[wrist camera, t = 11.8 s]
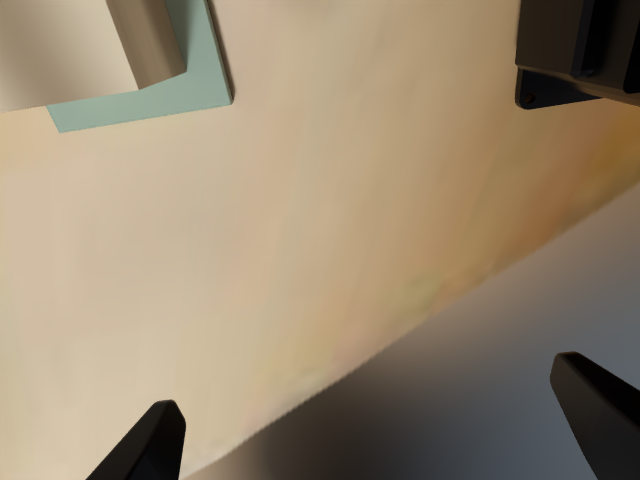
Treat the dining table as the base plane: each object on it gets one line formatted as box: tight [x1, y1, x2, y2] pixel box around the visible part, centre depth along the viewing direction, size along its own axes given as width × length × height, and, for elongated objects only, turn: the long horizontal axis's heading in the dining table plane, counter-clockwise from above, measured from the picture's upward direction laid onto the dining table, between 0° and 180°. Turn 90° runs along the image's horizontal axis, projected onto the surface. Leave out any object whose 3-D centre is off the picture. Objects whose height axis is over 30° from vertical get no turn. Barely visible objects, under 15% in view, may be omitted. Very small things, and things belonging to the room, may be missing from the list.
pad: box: [46, 0, 233, 133], centre depth 15 cm, size 8×8×1 cm
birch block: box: [0, 0, 187, 113], centre depth 12 cm, size 5×5×5 cm
